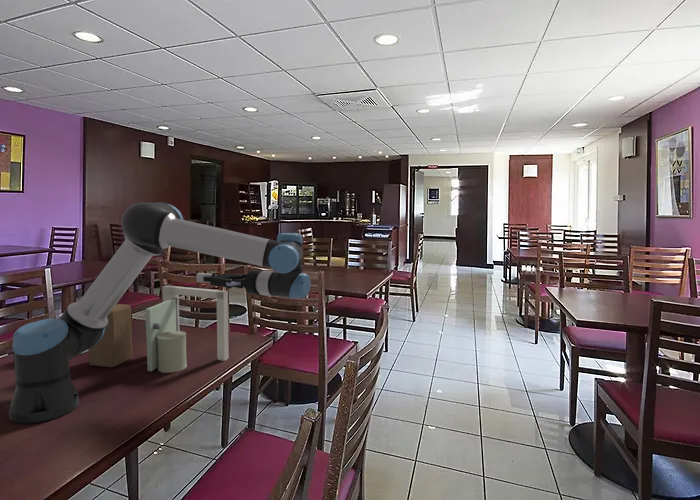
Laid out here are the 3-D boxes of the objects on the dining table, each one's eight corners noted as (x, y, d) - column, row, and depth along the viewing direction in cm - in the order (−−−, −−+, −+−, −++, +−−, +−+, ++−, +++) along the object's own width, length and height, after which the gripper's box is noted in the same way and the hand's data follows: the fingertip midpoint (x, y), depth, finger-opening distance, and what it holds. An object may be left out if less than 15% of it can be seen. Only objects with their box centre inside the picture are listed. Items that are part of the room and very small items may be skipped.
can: (176, 360, 148) (175, 328, 147) (192, 366, 143) (191, 332, 142) (152, 368, 140) (151, 334, 139) (168, 375, 135) (167, 339, 134)
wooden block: (112, 368, 140) (110, 310, 138) (87, 366, 142) (84, 308, 140) (133, 358, 150) (131, 304, 148) (109, 356, 152) (107, 302, 150)
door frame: (224, 360, 149) (223, 292, 146) (164, 351, 157) (162, 286, 155) (228, 358, 151) (227, 291, 148) (168, 349, 160) (167, 285, 157)
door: (142, 370, 138) (140, 308, 136) (171, 352, 155) (169, 297, 153) (156, 371, 137) (154, 309, 135) (183, 353, 155) (182, 298, 153)
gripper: (250, 298, 122) (184, 292, 130) (272, 290, 134) (211, 285, 142) (249, 273, 121) (183, 268, 129) (271, 267, 134) (210, 263, 141)
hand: (198, 277), depth 135 cm, fingers closed
